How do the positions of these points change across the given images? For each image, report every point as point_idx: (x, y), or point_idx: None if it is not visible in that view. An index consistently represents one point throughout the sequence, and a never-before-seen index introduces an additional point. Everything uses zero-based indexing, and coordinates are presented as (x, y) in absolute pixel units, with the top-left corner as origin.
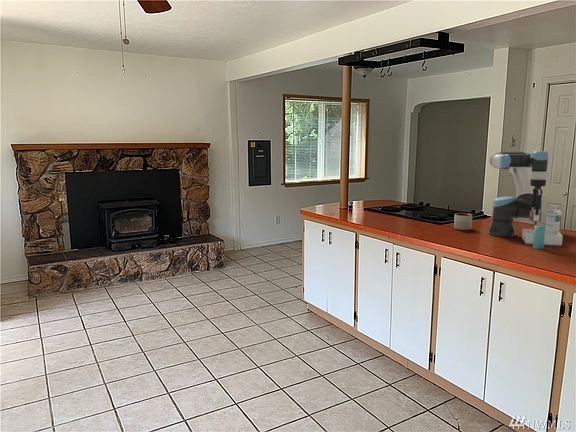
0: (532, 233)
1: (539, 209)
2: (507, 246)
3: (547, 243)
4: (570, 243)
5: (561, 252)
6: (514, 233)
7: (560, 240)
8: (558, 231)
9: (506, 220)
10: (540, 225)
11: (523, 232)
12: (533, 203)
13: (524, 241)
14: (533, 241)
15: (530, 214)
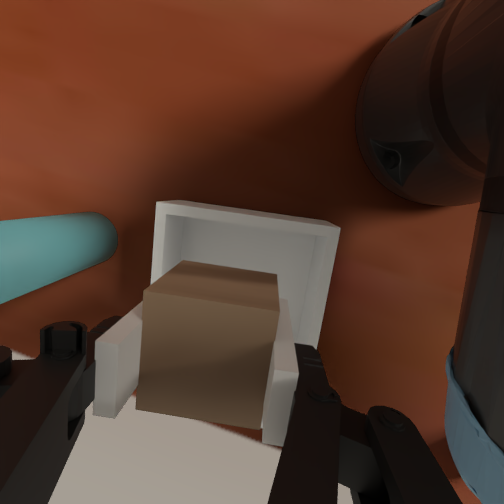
0: (312, 283)
1: (93, 410)
2: (86, 66)
3: None
4: (226, 426)
5: (23, 317)
6: (393, 187)
7: None
8: None
9: (441, 82)
10: (8, 285)
11: (290, 219)
12: (285, 446)
13: (226, 206)
14: (66, 214)
15: (214, 285)
